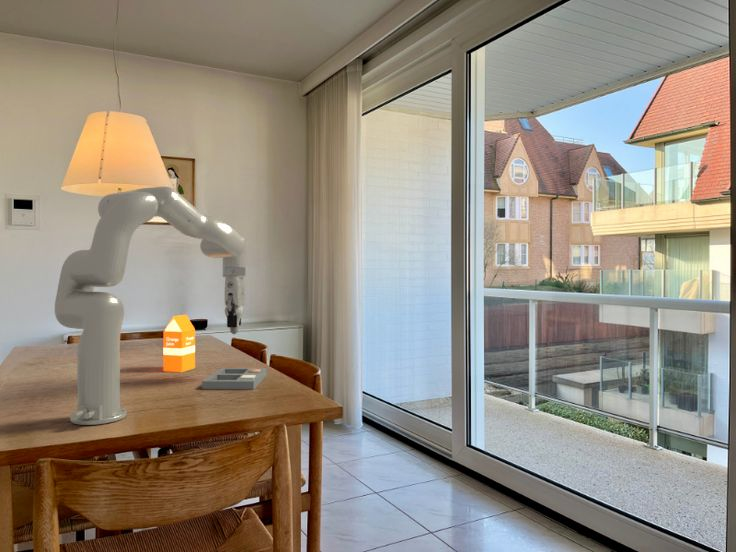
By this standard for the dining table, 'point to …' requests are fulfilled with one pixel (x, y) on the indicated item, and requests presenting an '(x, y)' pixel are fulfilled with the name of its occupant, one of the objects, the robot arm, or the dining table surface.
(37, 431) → the dining table surface
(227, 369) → the socket board
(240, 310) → the lightbulb
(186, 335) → the orange juice
